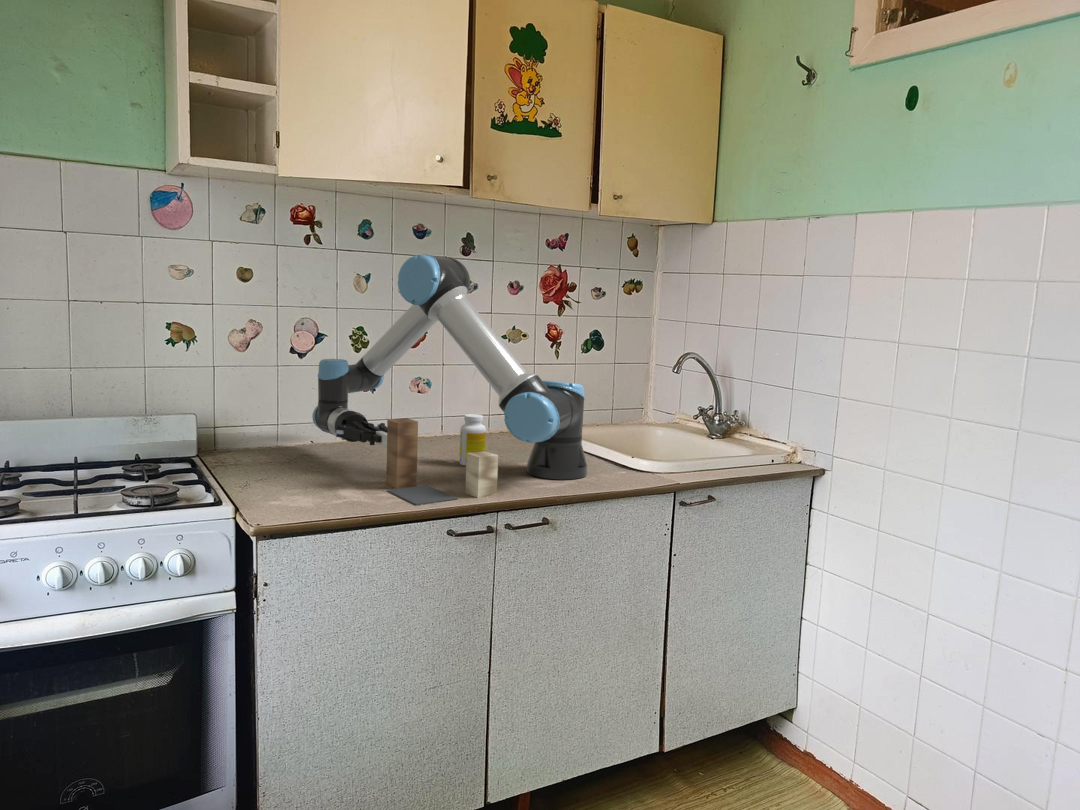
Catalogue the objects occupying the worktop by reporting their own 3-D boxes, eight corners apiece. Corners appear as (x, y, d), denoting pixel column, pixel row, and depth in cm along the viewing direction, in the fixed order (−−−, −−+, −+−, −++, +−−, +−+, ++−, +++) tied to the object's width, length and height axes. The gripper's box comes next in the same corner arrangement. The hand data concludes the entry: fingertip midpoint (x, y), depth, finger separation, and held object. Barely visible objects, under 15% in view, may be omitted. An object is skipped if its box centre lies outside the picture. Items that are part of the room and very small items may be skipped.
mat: (427, 486, 179) (427, 484, 179) (457, 499, 169) (457, 498, 169) (387, 491, 173) (387, 490, 173) (416, 505, 163) (416, 504, 163)
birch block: (484, 490, 178) (485, 451, 176) (496, 495, 174) (498, 455, 172) (465, 492, 175) (466, 453, 173) (477, 498, 171) (479, 457, 169)
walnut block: (406, 482, 182) (407, 418, 179) (416, 486, 178) (418, 421, 176) (386, 484, 179) (387, 419, 176) (396, 489, 175) (397, 423, 172)
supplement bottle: (490, 465, 203) (492, 416, 201) (470, 468, 198) (472, 418, 196) (473, 460, 207) (475, 412, 205) (454, 463, 203) (455, 414, 201)
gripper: (371, 437, 203) (416, 454, 185) (323, 441, 195) (364, 460, 177) (372, 408, 202) (416, 423, 184) (323, 411, 194) (365, 427, 176)
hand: (391, 441), depth 180 cm, fingers closed
